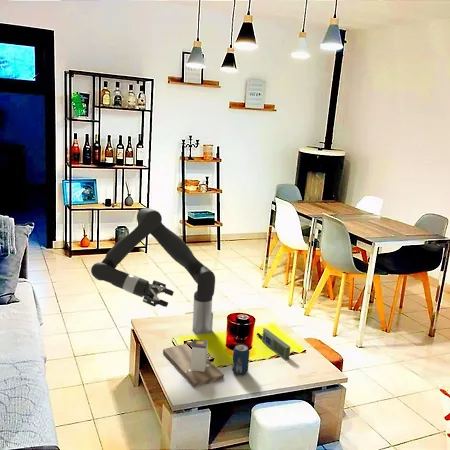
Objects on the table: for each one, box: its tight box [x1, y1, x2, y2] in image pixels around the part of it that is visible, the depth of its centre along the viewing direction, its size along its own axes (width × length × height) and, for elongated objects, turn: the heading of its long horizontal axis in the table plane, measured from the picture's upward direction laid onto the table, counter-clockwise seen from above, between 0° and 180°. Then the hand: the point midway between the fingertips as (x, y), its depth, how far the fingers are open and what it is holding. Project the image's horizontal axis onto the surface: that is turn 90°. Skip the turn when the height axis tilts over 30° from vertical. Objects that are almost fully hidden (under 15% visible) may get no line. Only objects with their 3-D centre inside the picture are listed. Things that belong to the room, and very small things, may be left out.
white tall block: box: [191, 338, 209, 372], centre depth 200 cm, size 5×6×12 cm
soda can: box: [231, 343, 250, 377], centre depth 202 cm, size 7×7×12 cm
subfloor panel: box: [162, 342, 225, 388], centre depth 206 cm, size 14×30×2 cm, turn 32°
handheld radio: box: [256, 327, 291, 361], centre depth 225 cm, size 7×3×25 cm
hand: (170, 299), depth 203 cm, fingers open, 8 cm apart
